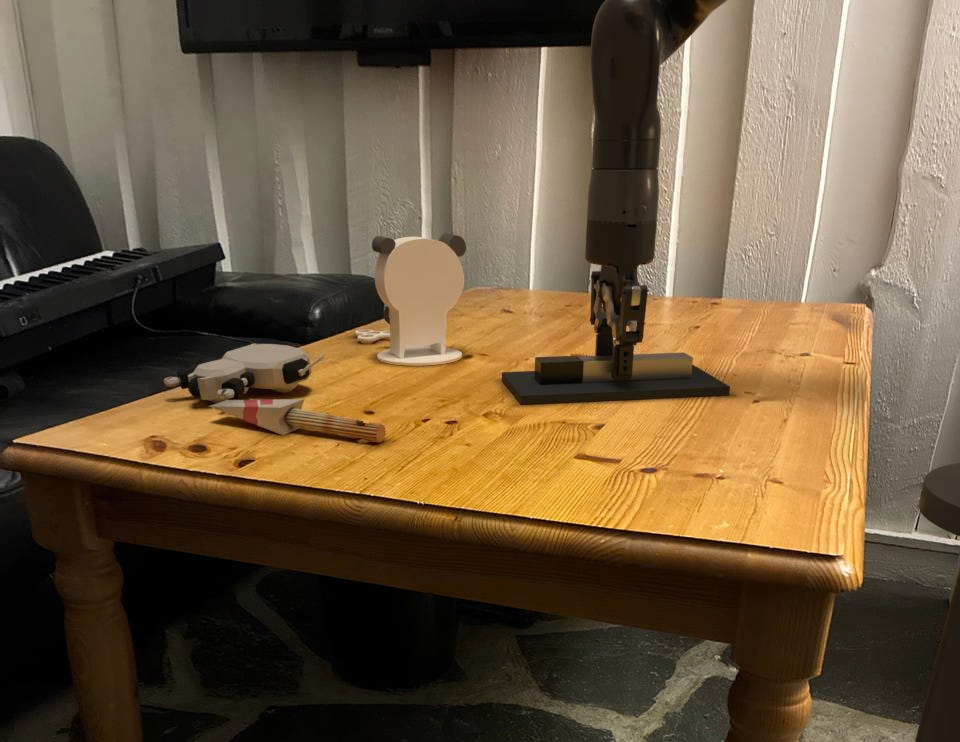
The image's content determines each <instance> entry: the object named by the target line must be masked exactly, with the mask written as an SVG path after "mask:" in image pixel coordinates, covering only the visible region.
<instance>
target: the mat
mask: <svg viewBox="0 0 960 742" xmlns="http://www.w3.org/2000/svg"><path fill="white" fill-rule="evenodd" d="M501 382H502V383H503V384H504V385H505V387H506V388H507V389H508V390H509V391H510V392H511V394H512V395H513V396H514V397H515V399H516V400H517V401H518V403H520V405H522V406H523V405H525V406H526V405H543V404H545V405H547V404H565V403H590V402H610V401H612V402H613V401H633V400H654V399H674V398H695V397H696V398H697V397H698V398H699V397H716V396H717V397H718V396H730V391H731V385H729V384H727V383H725V382H723V380H720V379H718V378H717V377H715V376H713V375H711V374H710V373H708V372H707V371H704V370H703V369H701V368H699V367H698V366H696V365H694V364H692V373H691V378H687V379H663V380H640V381H617V382H594V383H575V384H552V385H540V384H539V383H538V382H537V381H536V380H535V370H526V371H525V370H523V371H521V370H520V371H503V372H501Z"/></svg>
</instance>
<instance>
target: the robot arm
mask: <svg viewBox="0 0 960 742" xmlns="http://www.w3.org/2000/svg"><path fill="white" fill-rule="evenodd" d="M728 1H729V0H604V1H603V3H602V4H601V5H600V7H599V8H598V11H597V13H596V15H595V18H594V21H593V25H592V30H591V39H590V40H591V41H590V73H591V75H590V76H591V89H592V99H593V111H594V124H593V133H592V145H591V146H592V148H591V149H592V150H591V171H590V180H589V183H588V184H589V185H588V191H587V209H586V229H585V230H586V231H585V250H584V251H585V255H584V256H585V261H586V262H587V263H588V264H591V265H597V266H600V270H593V271H592V272H591V275H590V284H591V285H590V286H591V287H590V318H589V322H590V325H591V326H593V331H594V334H595V351H594V356H606V355H613V356H612V373H611V376H612V378H613V379H614V380H616V381H621V380H630V379H631V377H632V368H633V354H635V353H634V351H635V346H637V345H638V343H639V344H641V343H643V341H644V332H645V331H644V330H645V323H646V322H645V320H646V311H647V302H648V293H649V289H648V285H646V284H642V285H641V284H640V282H639V281H638V280H639V279H638V278H639V277H638V267H639V266H641V265H643V266H645V265H648V264H651V263H652V262H653V261H654V260H655V252H656V241H657V240H656V237H657V225H658V214H659V213H658V211H659V200H660V199H659V198H660V185H659V184H660V183H659V169H658V168H660V167H659V166H660V153H661V152H660V151H661V138H662V119H661V118H662V117H661V113H660V110H659V107H658V94H659V80H660V79H659V78H660V67H661V66H662V65H663V64H664V63H665V62H666V61H667V60H668V59H669V58H671V56H673V55H674V54H675V52H677V51H678V50H679V49H680V48H681V47H682V46H683V45H684V44H685V43H686V42H687V41H688V40H689V38H690V37H691V36H692V35H693V34H694V33H695V32H696V31H697V30H698V28H700V27H701V25H702V24H703V23H704V22H705V21H706V20H707V19H708V17H710V15H711V14H712V13H714V12H715V11H716V10H717V9H719V8H720V7H721V6H723V5H724V4H726V2H728ZM627 327H628V330H627Z"/></svg>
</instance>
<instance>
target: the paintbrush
mask: <svg viewBox="0 0 960 742" xmlns="http://www.w3.org/2000/svg"><path fill="white" fill-rule="evenodd" d="M304 401H305V399H304V398H291V399H289V398H287V399H285V398H284V399H283V398H282V399H281V398H279V399H235V400H226V401H223V402H220V403H214V404H211V405H208V407H209V408H212V409H214V410H216V411H219V412H222V413H224V414H227V415H229V416H233V417H235V418H238V419H240V420H243V421H246V422H248V423H250V424H253V425H256V426H258V427H260V428H264V429H265V430H269V431H271V432H273V433H276V434H279V435H281V436H285V435H287V434H289V433H292V432H294V431H297V430H299V429H304V430H310V431H314V432H320V433H325V434H330V435H336V436H340V437H345V438H346V437H347V438H351V439H358V438H359V439H363V440H364V441H367V442H371V443H375V444H376V443H377V444H379V443H382V442H383V441H384V439H385V436H386V432H387V430H386V427H385V425H384V424H382V423H378V422H372V421H370V422H368V423H367V422H364V421H363V420H359V419H354V418H350V417H345V416H340V415H339V416H338V415H334V414H328V413H323V412H317V411H313V410H307V409H303V406H304Z"/></svg>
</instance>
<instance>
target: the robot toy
mask: <svg viewBox="0 0 960 742" xmlns="http://www.w3.org/2000/svg"><path fill="white" fill-rule="evenodd" d="M324 359H325V355H323V354H321V355H319V356H318V357H317V358H316V359H315V360H314V361H312V362H311V359H310V356H309V354H308V353H307V352H305V351H304V350H303V349H301V348H298V347H295V346H291V345H286V344H285V345H284V344H276V343H251V344H248V345H245V346H242V347H238V348H235V349H232V350H229V351H225V353H224V355H223V356H222V358H219V359H216V360H211V361H207V362H203V363H200V364H197V366H196V368H195V369H194V368H189V369H184V370H178V371H177V372H176V373H177V376H168V377H165V378H164V379H163V383H164V385H165V386H166V387H168V388H173V387H175V388H176V387H177V386H180V388H181V390H186V389H188V392H189V394H190V395H191V397H192V398H193V399H194V398H195V399H201V401H209V402H211V403H214V404H217V403H220V402H223V401H226V400H238V399H239V398H241V397H242V396H243V395H245V394H246V393H247V392H248V390H249V389H250V388H253V389H265V390H273V391H275V392H278V393H283V394H285V393H290V392H292V391H293V390H294V389H295V388H296V387H297V386H298V385H299V383H302V382H305V381H307V380H308V379H309V378H310V376H311V374H312V367H314V366H315V365H316V364H318V363H319V362H321V361H324Z"/></svg>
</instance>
